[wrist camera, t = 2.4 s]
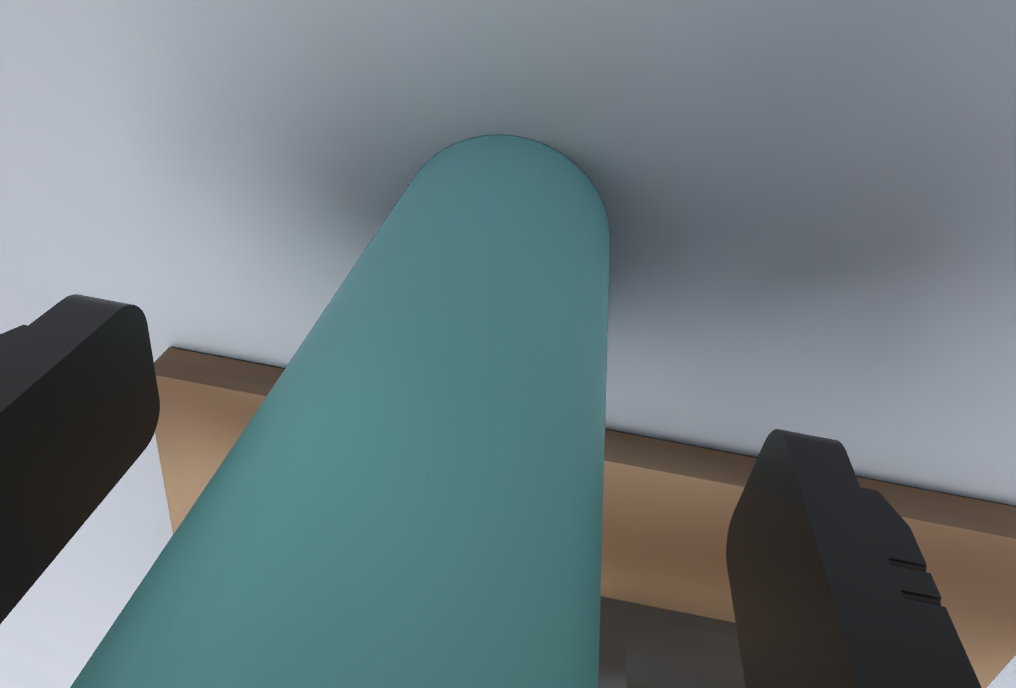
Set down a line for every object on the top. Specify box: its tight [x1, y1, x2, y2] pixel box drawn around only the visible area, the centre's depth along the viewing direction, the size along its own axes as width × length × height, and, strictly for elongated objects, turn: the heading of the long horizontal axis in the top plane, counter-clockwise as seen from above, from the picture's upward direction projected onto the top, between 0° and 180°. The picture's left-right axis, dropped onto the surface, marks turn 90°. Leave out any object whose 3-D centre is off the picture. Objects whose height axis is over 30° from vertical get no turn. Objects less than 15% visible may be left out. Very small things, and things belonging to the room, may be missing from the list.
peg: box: [70, 135, 610, 688], centre depth 9 cm, size 4×4×12 cm
